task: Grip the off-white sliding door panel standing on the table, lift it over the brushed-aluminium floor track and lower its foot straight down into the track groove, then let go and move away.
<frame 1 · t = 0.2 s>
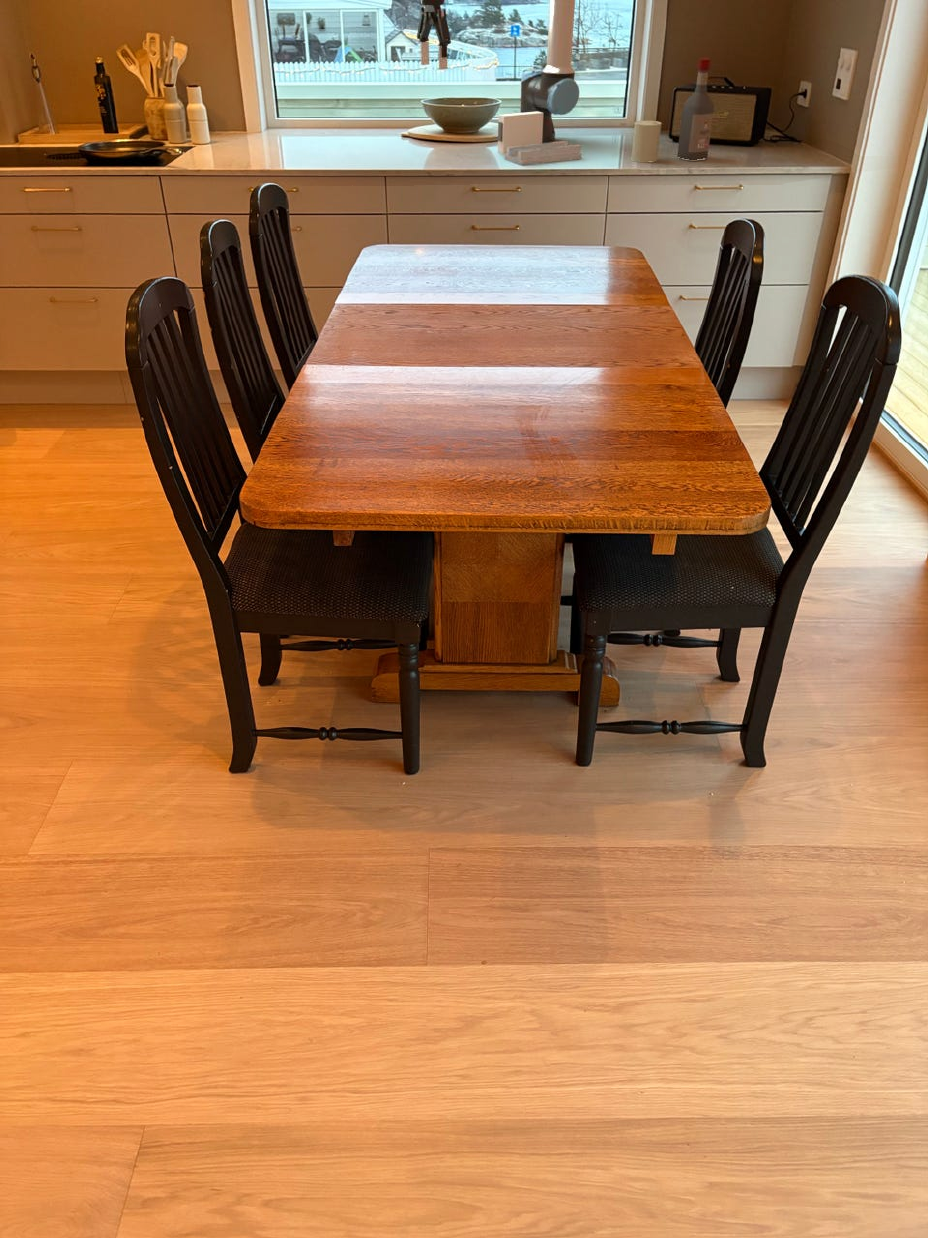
hand: (434, 66, 312), 28 cm above the table, tool pointing down, fingers open, 13 cm apart
floor track: (543, 158, 327), on the table
can: (644, 160, 326), on the table
liquor: (691, 158, 328), on the table
door panel: (519, 151, 339), on the table
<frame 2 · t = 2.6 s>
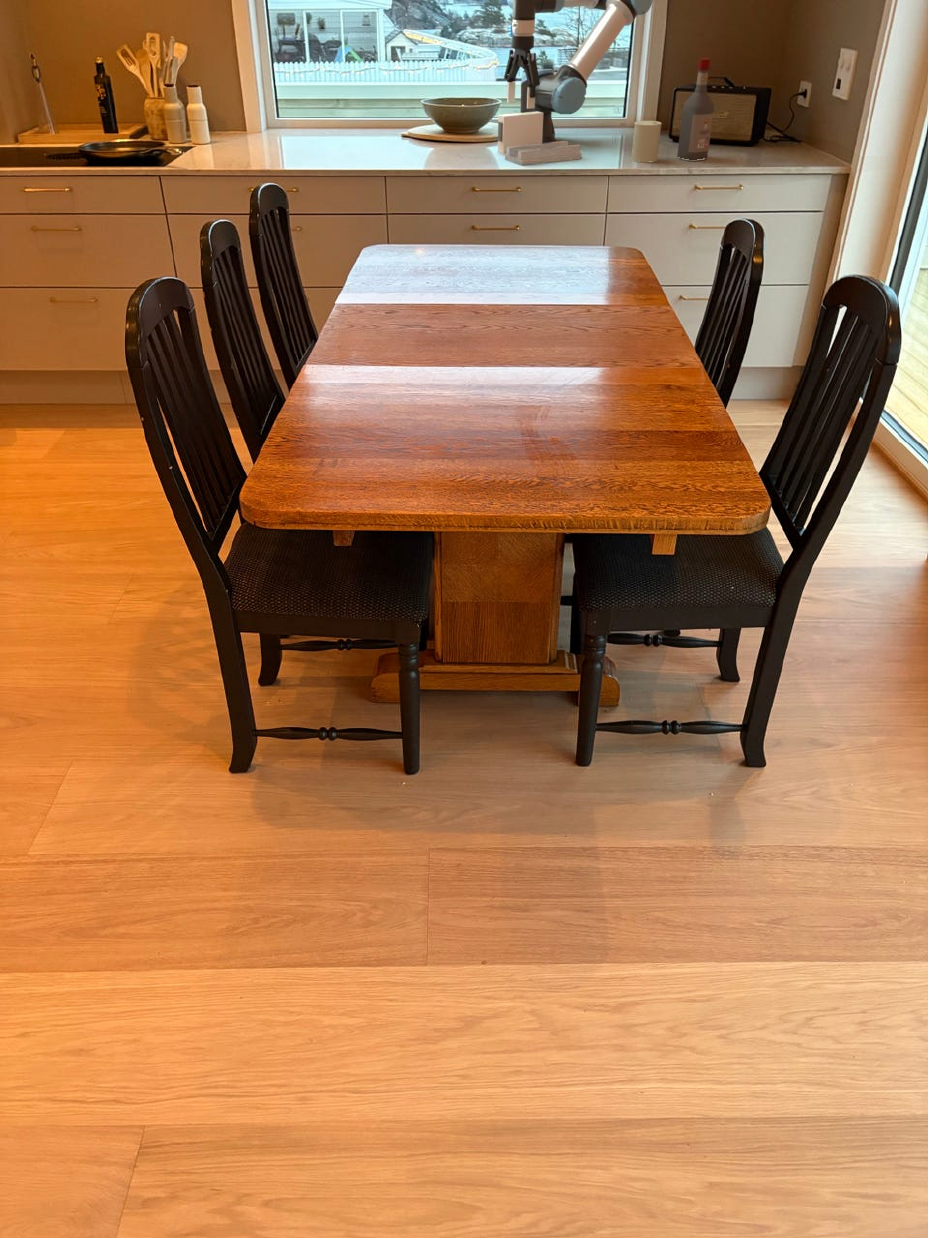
hand: (520, 105, 330), 14 cm above the table, tool pointing down, fingers open, 13 cm apart
nothing on the table moved.
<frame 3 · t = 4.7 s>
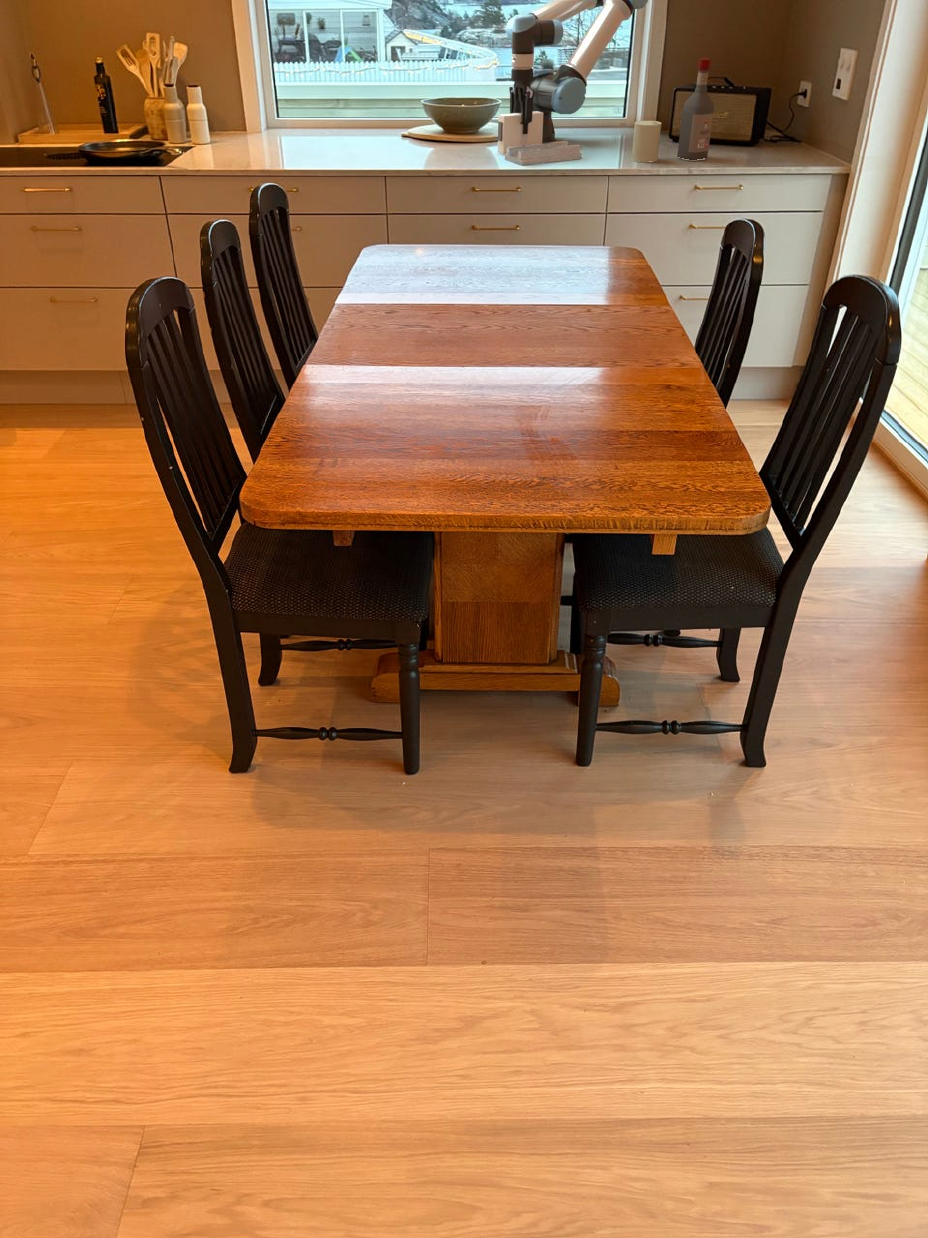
hand: (520, 142, 337), 3 cm above the table, tool pointing down, fingers closed on door panel, 4 cm apart
door panel: (519, 150, 339), on the table, touching gripper
everything else where it was.
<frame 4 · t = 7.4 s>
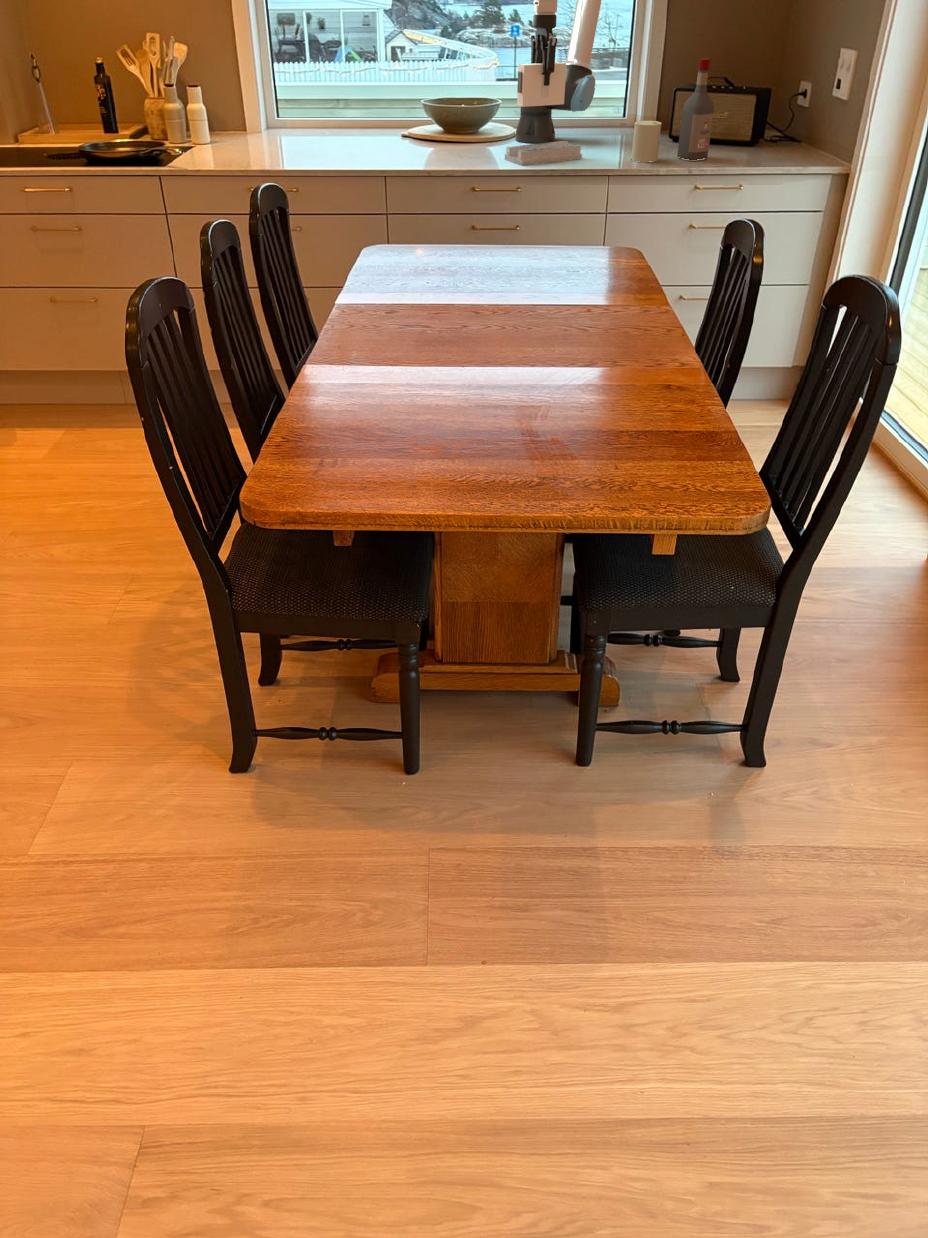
hand: (541, 95, 317), 19 cm above the table, tool pointing down, fingers closed on door panel, 4 cm apart
door panel: (540, 104, 319), point 17 cm above the table, touching gripper
everything else where it was.
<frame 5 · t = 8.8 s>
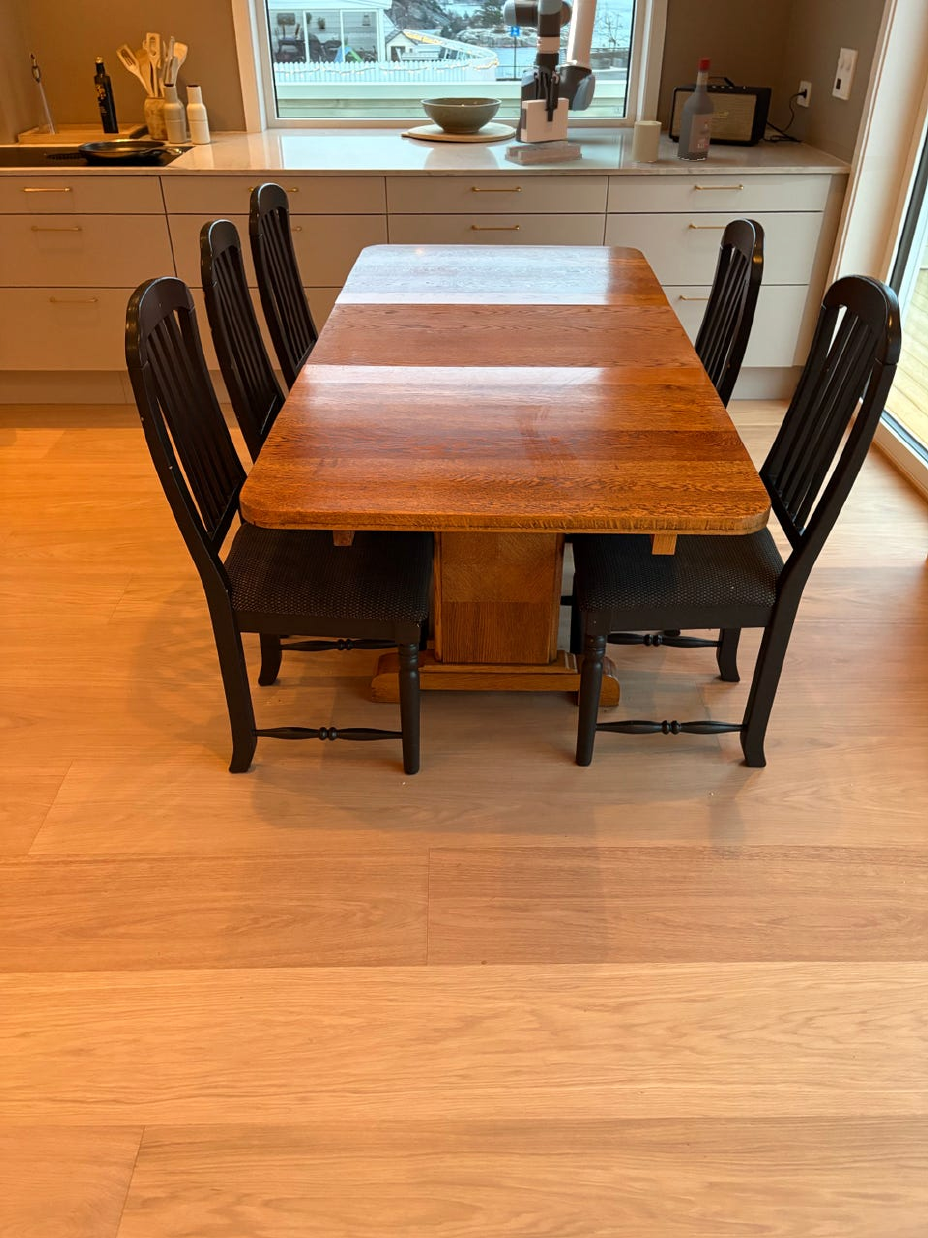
hand: (544, 130, 322), 9 cm above the table, tool pointing down, fingers closed on door panel, 4 cm apart
door panel: (543, 139, 324), point 6 cm above the table, touching gripper
everything else where it was.
when the fingers open (6 cm above the table, at t = 10.1 s): door panel drops 1 cm, resting on floor track.
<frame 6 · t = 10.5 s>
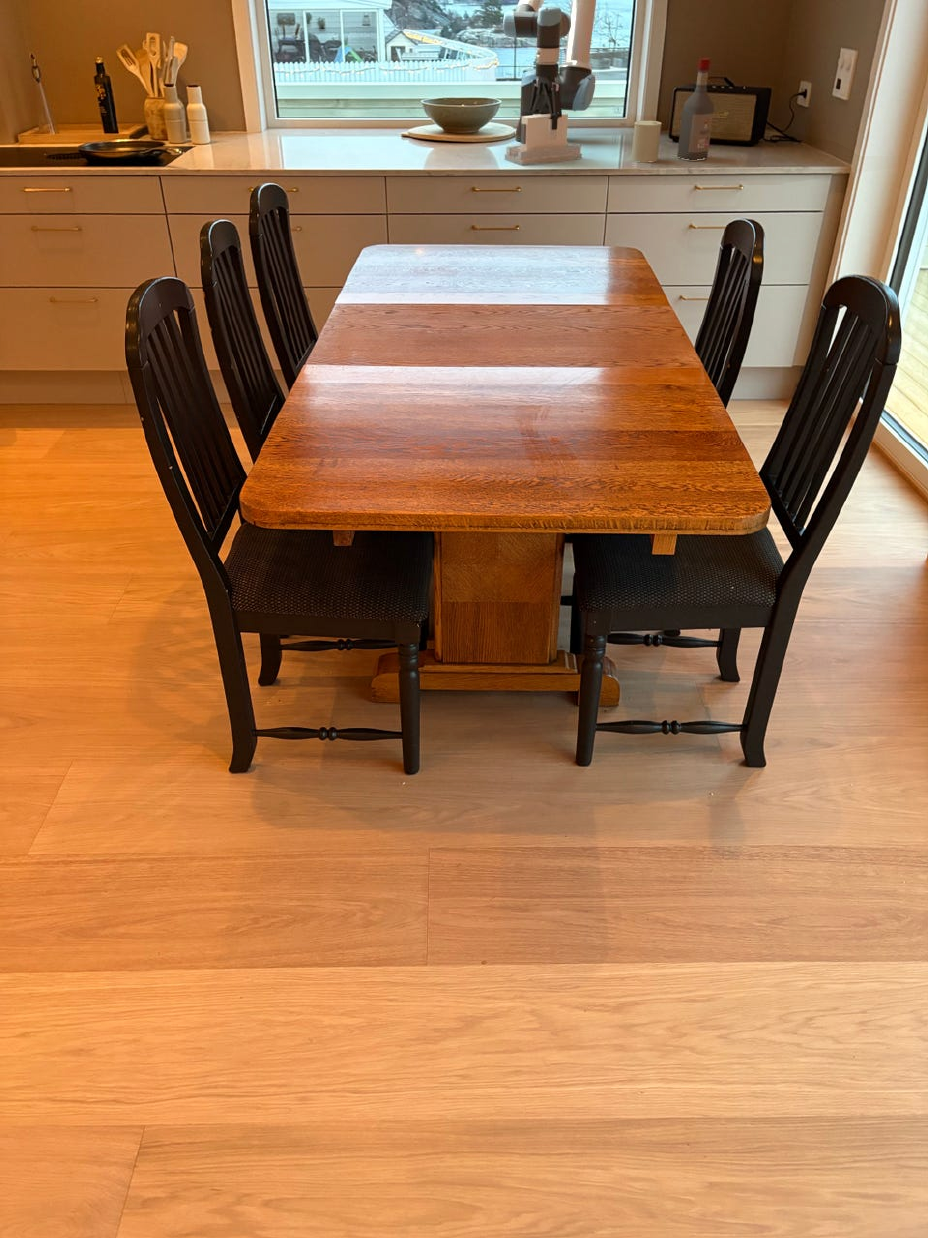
hand: (544, 137, 323), 7 cm above the table, tool pointing down, fingers open, 10 cm apart
door panel: (543, 153, 327), point 1 cm above the table, touching floor track
everything else where it was.
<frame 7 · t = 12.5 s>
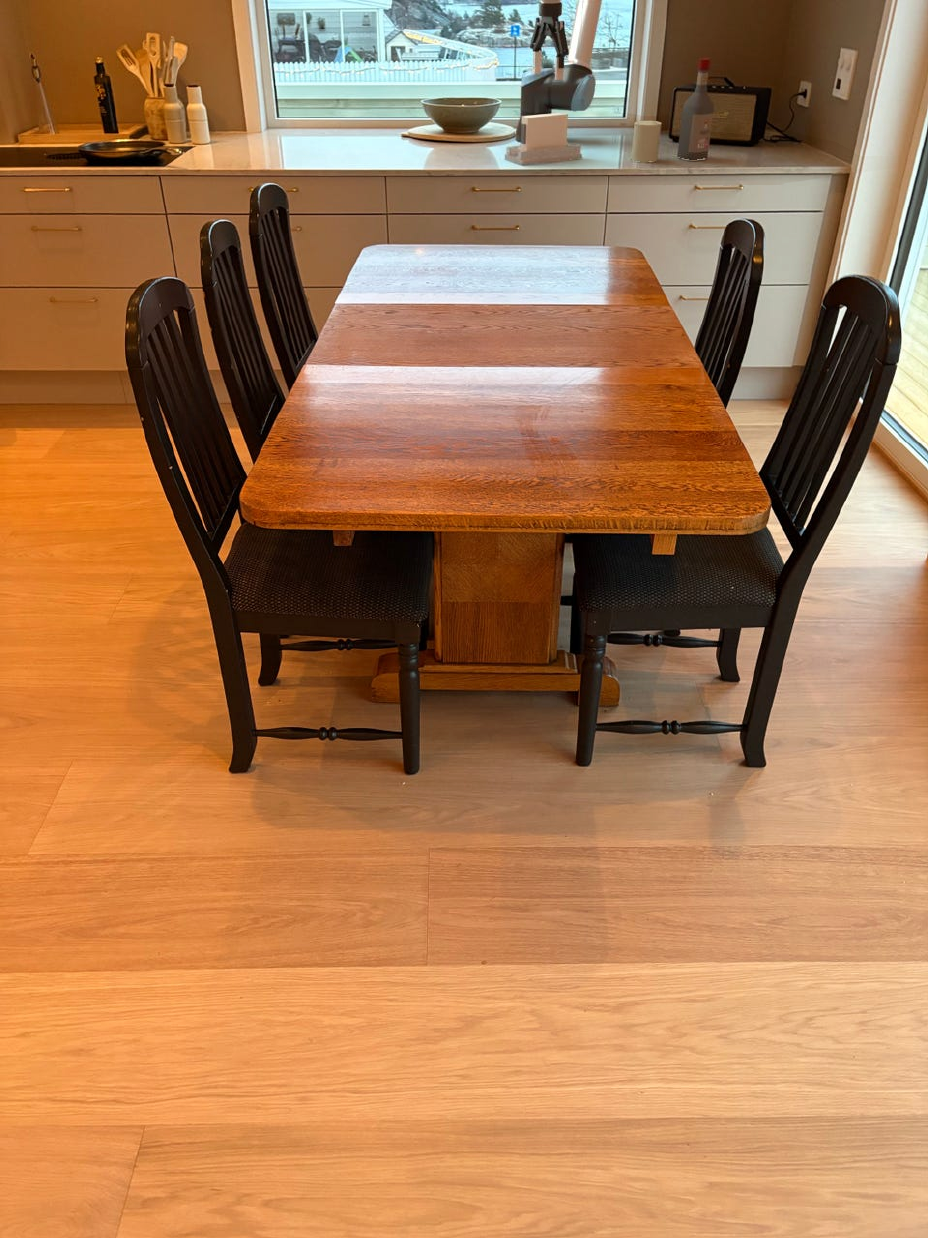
hand: (548, 76, 317), 24 cm above the table, tool pointing down, fingers open, 13 cm apart
nothing on the table moved.
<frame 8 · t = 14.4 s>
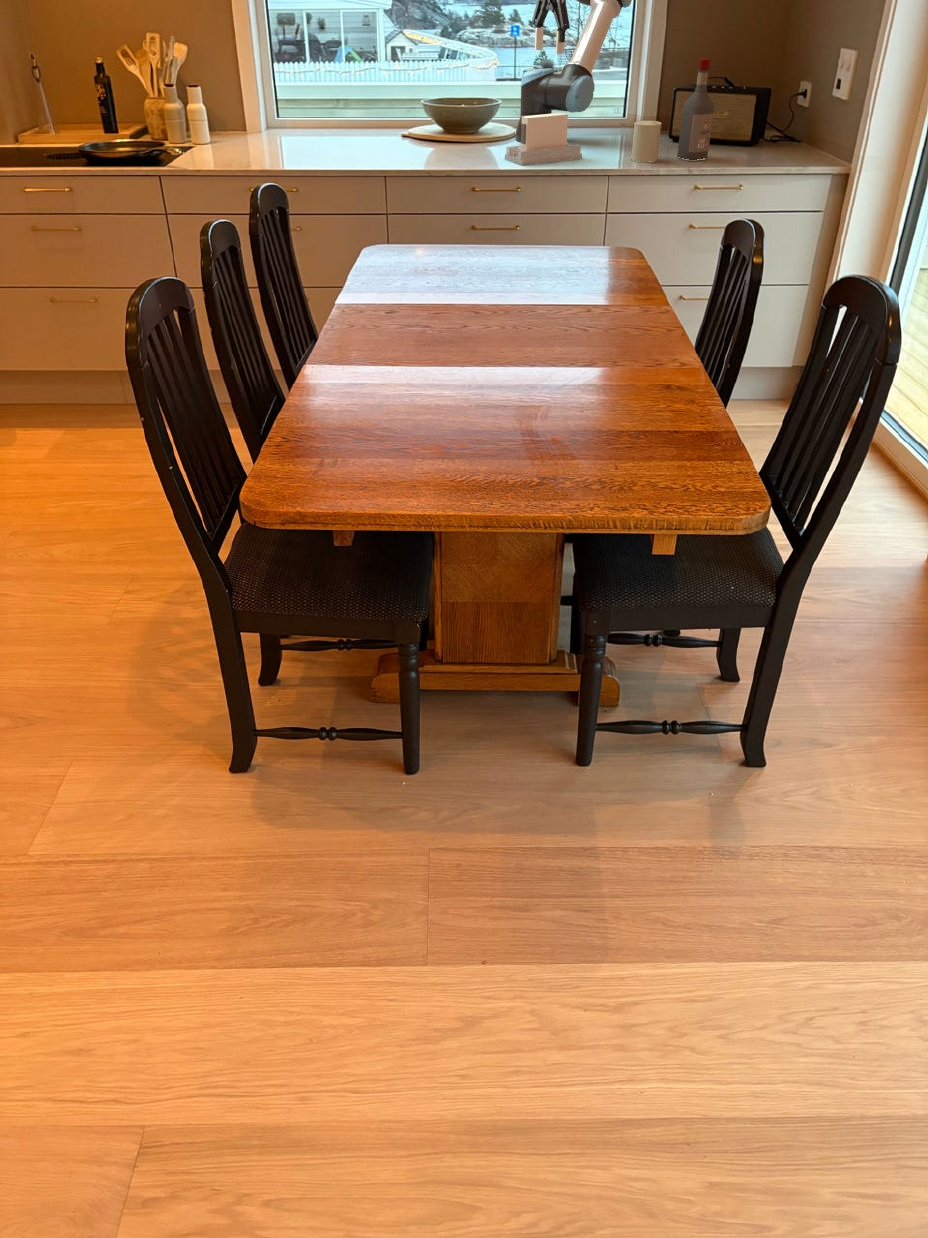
hand: (549, 51, 321), 31 cm above the table, tool pointing down, fingers open, 13 cm apart
nothing on the table moved.
at the end: door panel inside the target area on the floor track (0.0 cm from its centre), point 1.5 cm above the floor track's base; door panel tilted 0°; the gripper is holding nothing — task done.
